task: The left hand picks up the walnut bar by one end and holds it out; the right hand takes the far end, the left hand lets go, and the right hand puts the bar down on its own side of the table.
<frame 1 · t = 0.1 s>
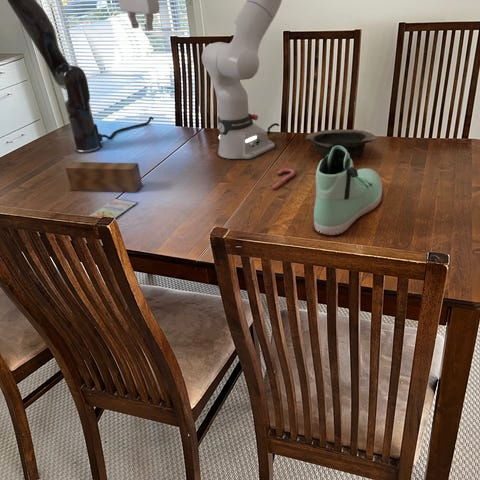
right hand: (142, 29, 144), 48 cm above the table, tool pointing down, fingers open, 8 cm apart
stone bowl: (339, 155, 174), on the table
sneaker: (348, 208, 139), on the table
bar: (106, 188, 163), on the table
baking ingredient package: (110, 212, 148), on the table
candy cane: (281, 180, 158), on the table
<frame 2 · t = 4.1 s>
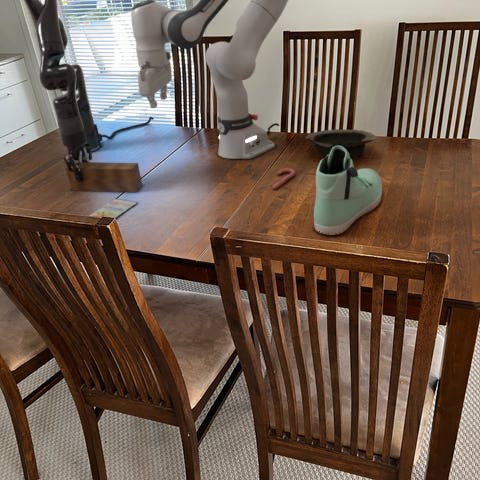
left hand: (84, 177, 163), 4 cm above the table, tool pointing down, fingers closed on bar, 5 cm apart
right hand: (159, 103, 157), 25 cm above the table, tool pointing down, fingers open, 8 cm apart
bar: (106, 188, 163), on the table, touching left hand
everything else where it was.
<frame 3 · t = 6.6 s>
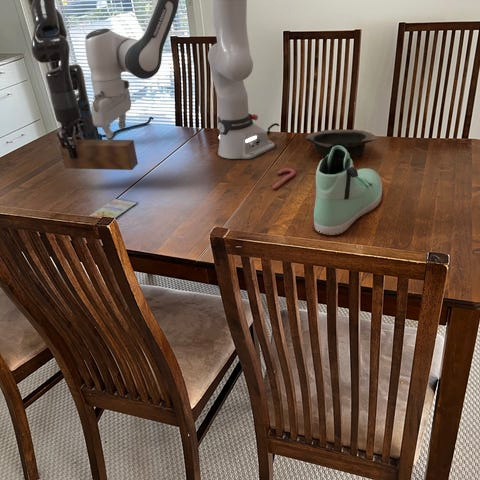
left hand: (78, 155, 159), 12 cm above the table, tool pointing down, fingers closed on bar, 5 cm apart
right hand: (116, 132, 152), 19 cm above the table, tool pointing down, fingers open, 8 cm apart
bar: (101, 166, 159), point 8 cm above the table, touching left hand
everything else where it was.
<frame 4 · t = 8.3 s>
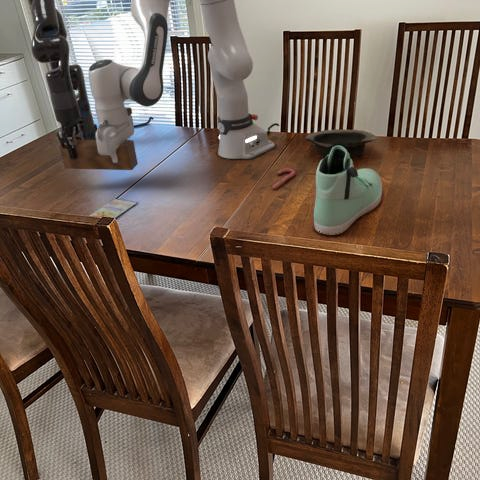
left hand: (78, 155, 159), 12 cm above the table, tool pointing down, fingers closed on bar, 5 cm apart
right hand: (120, 157, 156), 11 cm above the table, tool pointing down, fingers closed on bar, 5 cm apart
bar: (101, 166, 159), point 8 cm above the table, touching left hand, right hand
everything else where it was.
when the left hand's fingers open (12 cm above the table, at t = 9.3 s): bar stays where it is, held by the right hand.
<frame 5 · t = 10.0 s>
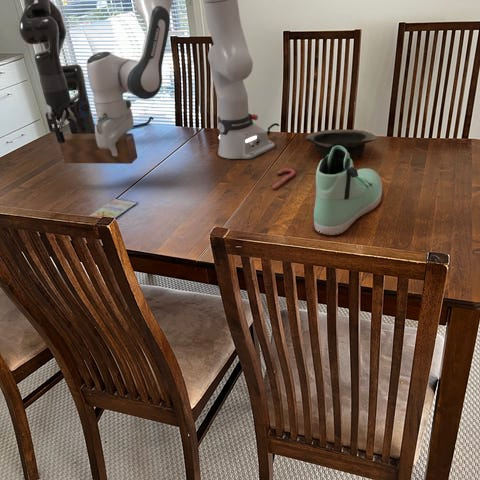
left hand: (68, 137, 156), 18 cm above the table, tool pointing down, fingers open, 8 cm apart
right hand: (120, 151, 155), 13 cm above the table, tool pointing down, fingers closed on bar, 5 cm apart
bar: (101, 160, 158), point 10 cm above the table, touching right hand
everything else where it was.
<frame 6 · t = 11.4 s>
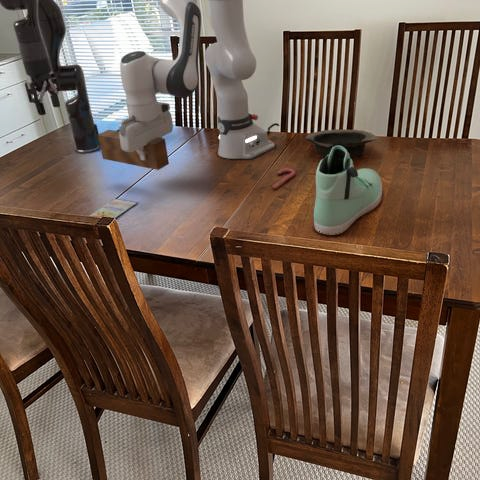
left hand: (49, 110, 152), 27 cm above the table, tool pointing down, fingers open, 8 cm apart
right hand: (151, 155, 148), 14 cm above the table, tool pointing down, fingers closed on bar, 5 cm apart
bar: (135, 161, 153), point 11 cm above the table, touching right hand
everything else where it was.
when the right hand's fingers open (4 cm above the table, at t = 15.0 s): bar stays where it is, on the table.
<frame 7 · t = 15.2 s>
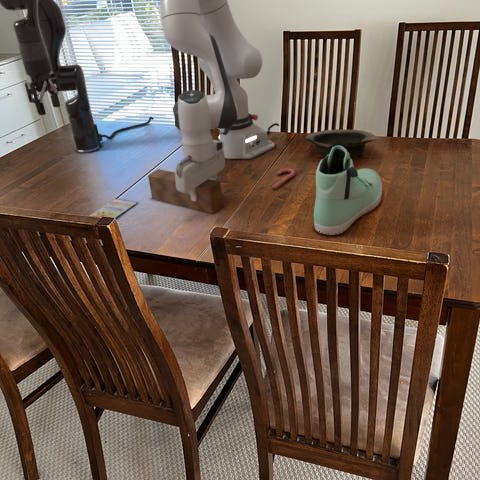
left hand: (49, 110, 152), 27 cm above the table, tool pointing down, fingers open, 8 cm apart
right hand: (203, 194, 144), 4 cm above the table, tool pointing down, fingers open, 7 cm apart
bar: (186, 202, 150), on the table
everything else where it was.
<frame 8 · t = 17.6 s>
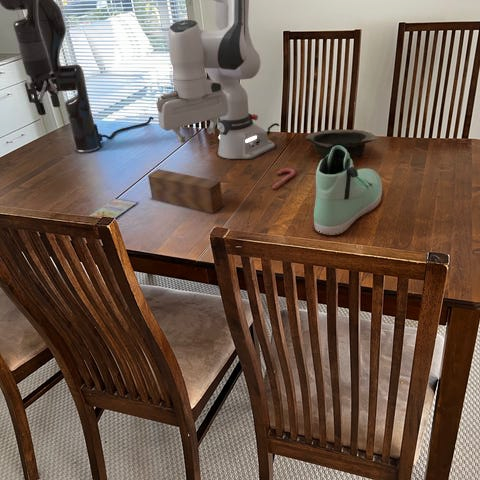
left hand: (49, 110, 152), 27 cm above the table, tool pointing down, fingers open, 8 cm apart
right hand: (196, 138, 135), 22 cm above the table, tool pointing down, fingers open, 8 cm apart
nothing on the table moved.
at the end: bar inside the target area (7.3 cm from its centre), on the table; the left hand is holding nothing; the right hand is holding nothing; bar at rest at the end (0.0 cm/s) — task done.
